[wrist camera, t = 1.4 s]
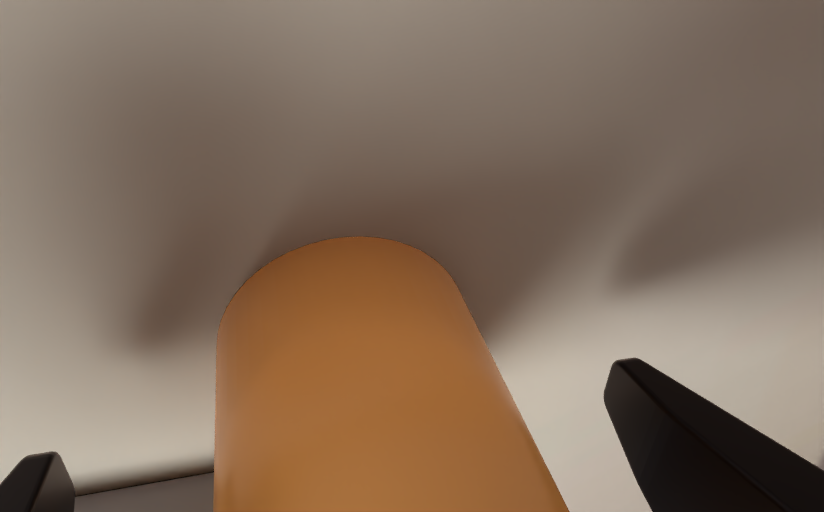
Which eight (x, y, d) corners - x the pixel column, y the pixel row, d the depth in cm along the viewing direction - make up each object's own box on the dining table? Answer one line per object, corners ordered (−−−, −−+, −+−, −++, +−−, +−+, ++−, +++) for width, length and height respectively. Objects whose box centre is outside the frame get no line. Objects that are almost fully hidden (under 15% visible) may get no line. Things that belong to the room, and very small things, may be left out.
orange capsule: (455, 406, 13) (584, 732, 8) (234, 443, 12) (239, 837, 8) (474, 223, 11) (673, 545, 6) (196, 252, 10) (167, 666, 5)
